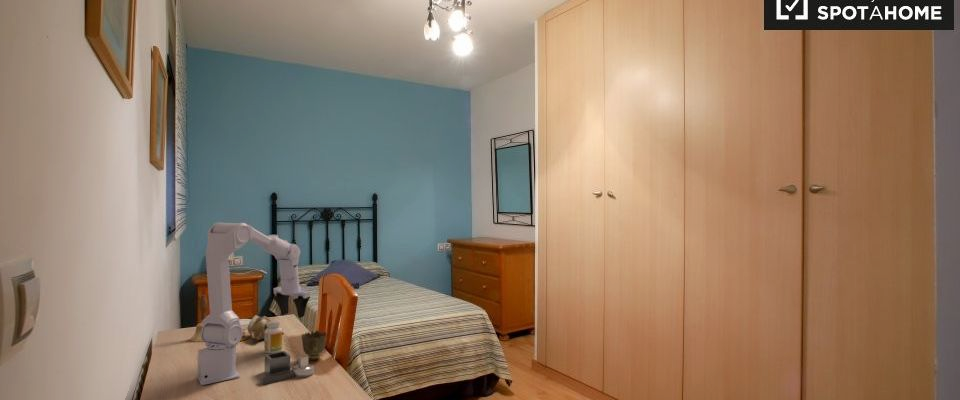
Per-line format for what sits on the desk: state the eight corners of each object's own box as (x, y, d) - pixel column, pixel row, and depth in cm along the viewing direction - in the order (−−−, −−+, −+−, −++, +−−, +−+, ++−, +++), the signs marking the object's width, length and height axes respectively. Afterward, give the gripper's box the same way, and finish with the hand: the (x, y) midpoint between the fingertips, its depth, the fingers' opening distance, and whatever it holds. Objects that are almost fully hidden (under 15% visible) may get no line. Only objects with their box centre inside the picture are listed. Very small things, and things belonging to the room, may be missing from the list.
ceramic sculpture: (269, 308, 178) (286, 317, 167) (269, 330, 178) (285, 341, 168) (240, 313, 170) (255, 323, 160) (239, 336, 170) (254, 348, 160)
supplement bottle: (285, 348, 157) (285, 320, 157) (276, 354, 151) (276, 324, 151) (270, 348, 157) (270, 319, 157) (261, 353, 152) (261, 323, 152)
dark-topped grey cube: (269, 377, 131) (269, 359, 131) (264, 371, 135) (264, 354, 135) (290, 372, 135) (290, 355, 135) (284, 367, 139) (284, 351, 139)
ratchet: (264, 386, 124) (264, 368, 124) (259, 380, 129) (259, 362, 129) (317, 374, 133) (317, 357, 133) (309, 368, 138) (310, 352, 138)
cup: (331, 357, 148) (331, 332, 148) (312, 364, 142) (312, 338, 142) (315, 353, 152) (315, 329, 152) (296, 360, 146) (296, 334, 146)
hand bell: (212, 341, 164) (212, 296, 164) (186, 342, 162) (186, 297, 162) (219, 334, 172) (220, 292, 172) (195, 336, 170) (195, 293, 170)
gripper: (314, 276, 158) (317, 313, 160) (283, 272, 164) (287, 308, 166) (298, 282, 152) (302, 321, 154) (267, 278, 158) (271, 315, 160)
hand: (293, 315), depth 160 cm, fingers open, 7 cm apart
